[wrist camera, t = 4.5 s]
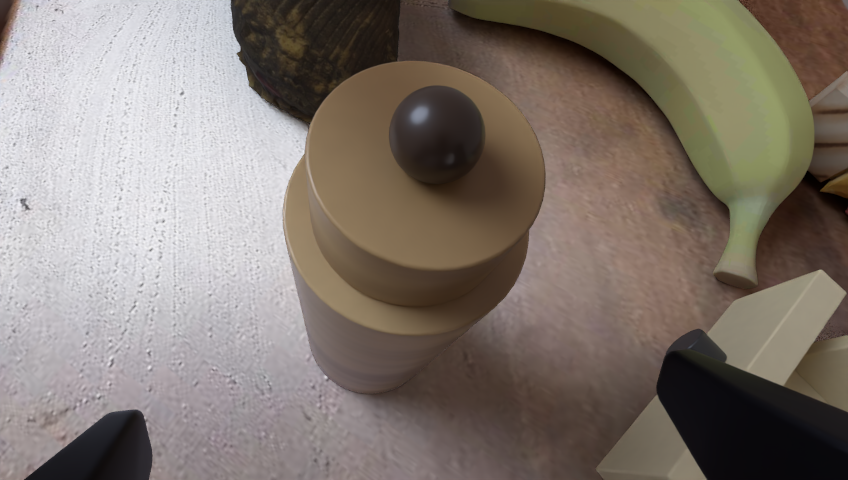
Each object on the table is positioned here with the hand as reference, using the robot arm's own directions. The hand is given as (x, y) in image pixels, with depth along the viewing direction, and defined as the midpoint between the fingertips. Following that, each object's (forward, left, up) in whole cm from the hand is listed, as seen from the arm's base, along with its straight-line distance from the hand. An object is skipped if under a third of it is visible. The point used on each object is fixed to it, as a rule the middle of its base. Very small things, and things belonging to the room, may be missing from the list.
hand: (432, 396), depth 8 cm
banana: (+19, +3, -10) cm, 22 cm away
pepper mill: (+2, +3, -10) cm, 11 cm away
